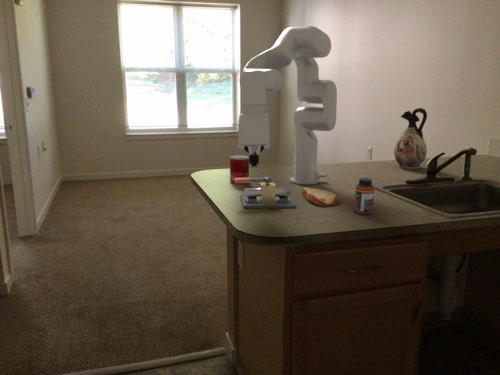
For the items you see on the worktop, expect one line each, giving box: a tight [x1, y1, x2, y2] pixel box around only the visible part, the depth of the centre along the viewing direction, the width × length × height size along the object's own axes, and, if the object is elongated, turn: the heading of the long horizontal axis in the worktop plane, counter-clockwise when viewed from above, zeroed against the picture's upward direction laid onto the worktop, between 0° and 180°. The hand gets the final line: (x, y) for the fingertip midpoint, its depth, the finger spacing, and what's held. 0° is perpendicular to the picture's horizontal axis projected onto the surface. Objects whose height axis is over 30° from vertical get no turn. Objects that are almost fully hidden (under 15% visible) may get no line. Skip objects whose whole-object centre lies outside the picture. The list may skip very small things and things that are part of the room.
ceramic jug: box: [393, 107, 428, 170], centre depth 221 cm, size 17×15×30 cm
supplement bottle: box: [353, 177, 375, 215], centre depth 146 cm, size 6×6×11 cm
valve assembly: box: [239, 182, 297, 209], centre depth 157 cm, size 18×14×8 cm
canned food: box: [229, 154, 250, 185], centre depth 186 cm, size 8×8×11 cm
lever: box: [235, 176, 273, 184], centre depth 154 cm, size 13×3×1 cm, turn 103°
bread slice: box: [301, 186, 340, 208], centre depth 163 cm, size 18×18×4 cm
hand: (254, 165), depth 147 cm, fingers closed
